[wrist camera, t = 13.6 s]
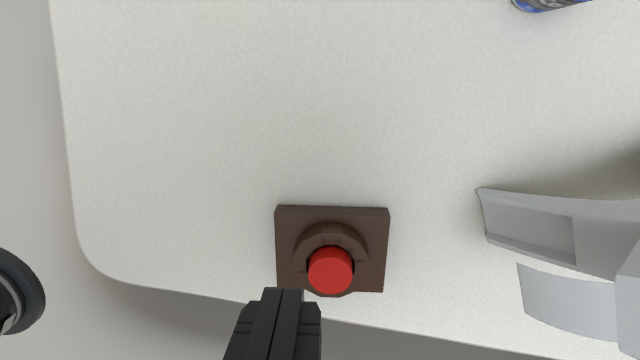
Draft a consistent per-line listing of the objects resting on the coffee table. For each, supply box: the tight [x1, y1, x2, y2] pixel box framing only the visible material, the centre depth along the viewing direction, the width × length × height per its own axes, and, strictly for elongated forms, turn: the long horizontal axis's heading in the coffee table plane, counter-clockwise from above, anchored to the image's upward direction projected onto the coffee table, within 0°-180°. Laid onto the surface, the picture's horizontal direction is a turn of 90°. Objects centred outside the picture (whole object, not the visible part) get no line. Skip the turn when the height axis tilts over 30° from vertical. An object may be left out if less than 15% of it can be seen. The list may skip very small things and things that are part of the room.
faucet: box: [477, 187, 640, 360], centre depth 22 cm, size 6×16×20 cm
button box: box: [274, 205, 390, 298], centre depth 28 cm, size 10×8×4 cm
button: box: [308, 246, 352, 294], centre depth 26 cm, size 4×4×2 cm
